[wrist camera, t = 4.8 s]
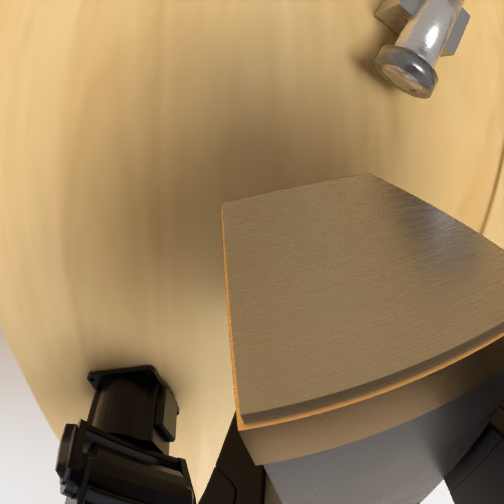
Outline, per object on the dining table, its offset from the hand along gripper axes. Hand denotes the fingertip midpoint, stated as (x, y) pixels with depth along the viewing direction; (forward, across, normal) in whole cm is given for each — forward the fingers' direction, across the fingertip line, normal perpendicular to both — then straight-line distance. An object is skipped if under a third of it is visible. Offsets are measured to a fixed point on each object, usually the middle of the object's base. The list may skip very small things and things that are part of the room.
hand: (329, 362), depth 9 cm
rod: (+11, -11, -11) cm, 19 cm away
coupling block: (+1, 0, 0) cm, 1 cm away
